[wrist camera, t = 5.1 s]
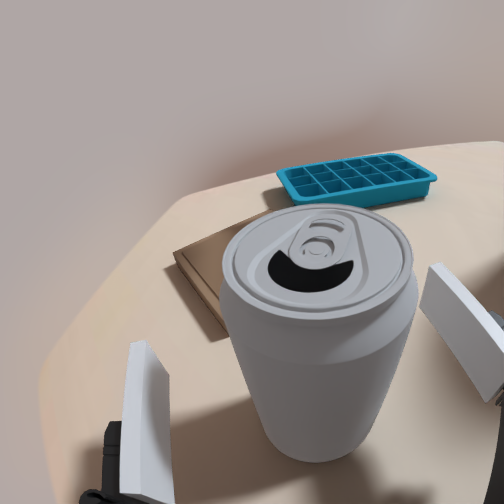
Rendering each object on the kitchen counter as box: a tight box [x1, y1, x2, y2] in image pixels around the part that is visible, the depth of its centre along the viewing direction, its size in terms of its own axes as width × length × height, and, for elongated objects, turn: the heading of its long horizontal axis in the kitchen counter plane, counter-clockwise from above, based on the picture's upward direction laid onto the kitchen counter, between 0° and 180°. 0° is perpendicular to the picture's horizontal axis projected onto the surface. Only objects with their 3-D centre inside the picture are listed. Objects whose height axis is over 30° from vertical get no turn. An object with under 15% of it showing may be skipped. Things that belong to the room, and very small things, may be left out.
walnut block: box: [173, 209, 275, 334], centre depth 28 cm, size 12×12×2 cm
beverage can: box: [219, 204, 418, 463], centre depth 12 cm, size 6×6×12 cm
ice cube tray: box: [276, 153, 437, 208], centre depth 38 cm, size 12×20×3 cm, turn 97°
